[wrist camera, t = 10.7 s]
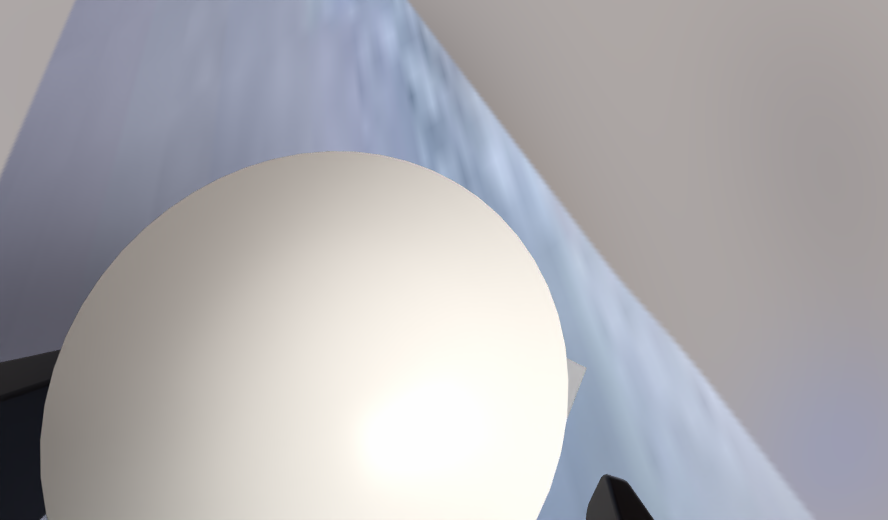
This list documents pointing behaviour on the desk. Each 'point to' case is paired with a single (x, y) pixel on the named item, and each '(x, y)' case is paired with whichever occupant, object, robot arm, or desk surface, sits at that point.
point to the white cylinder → (312, 357)
